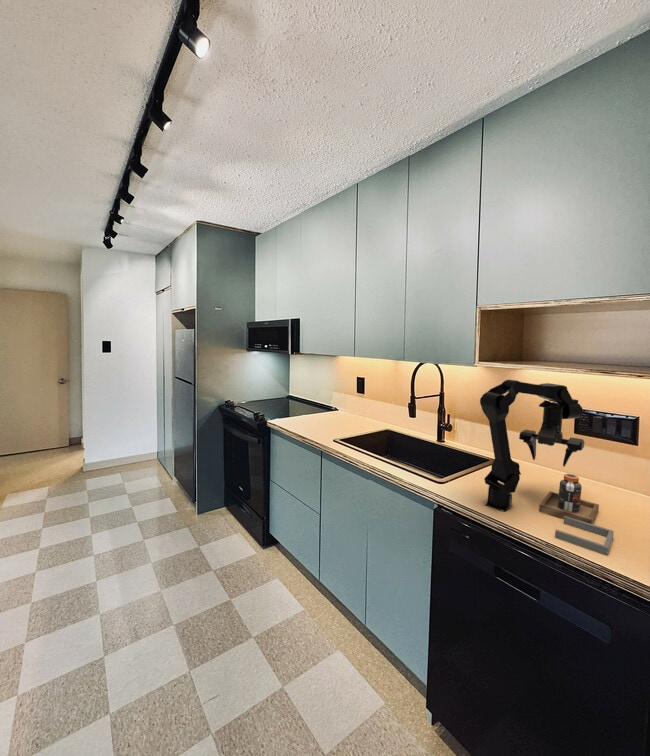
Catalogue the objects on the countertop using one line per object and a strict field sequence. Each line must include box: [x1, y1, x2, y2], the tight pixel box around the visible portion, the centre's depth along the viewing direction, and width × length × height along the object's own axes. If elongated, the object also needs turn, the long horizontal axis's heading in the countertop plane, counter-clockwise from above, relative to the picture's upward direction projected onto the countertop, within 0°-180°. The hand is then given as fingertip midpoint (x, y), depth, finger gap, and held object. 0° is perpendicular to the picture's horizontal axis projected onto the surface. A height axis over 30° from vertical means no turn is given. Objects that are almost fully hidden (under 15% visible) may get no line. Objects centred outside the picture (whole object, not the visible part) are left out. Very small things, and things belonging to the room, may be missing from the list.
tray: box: [538, 491, 600, 525], centre depth 118 cm, size 14×14×2 cm
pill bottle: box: [558, 473, 583, 512], centre depth 118 cm, size 6×6×11 cm
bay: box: [554, 516, 615, 556], centre depth 103 cm, size 12×12×2 cm
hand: (548, 463), depth 127 cm, fingers open, 9 cm apart
